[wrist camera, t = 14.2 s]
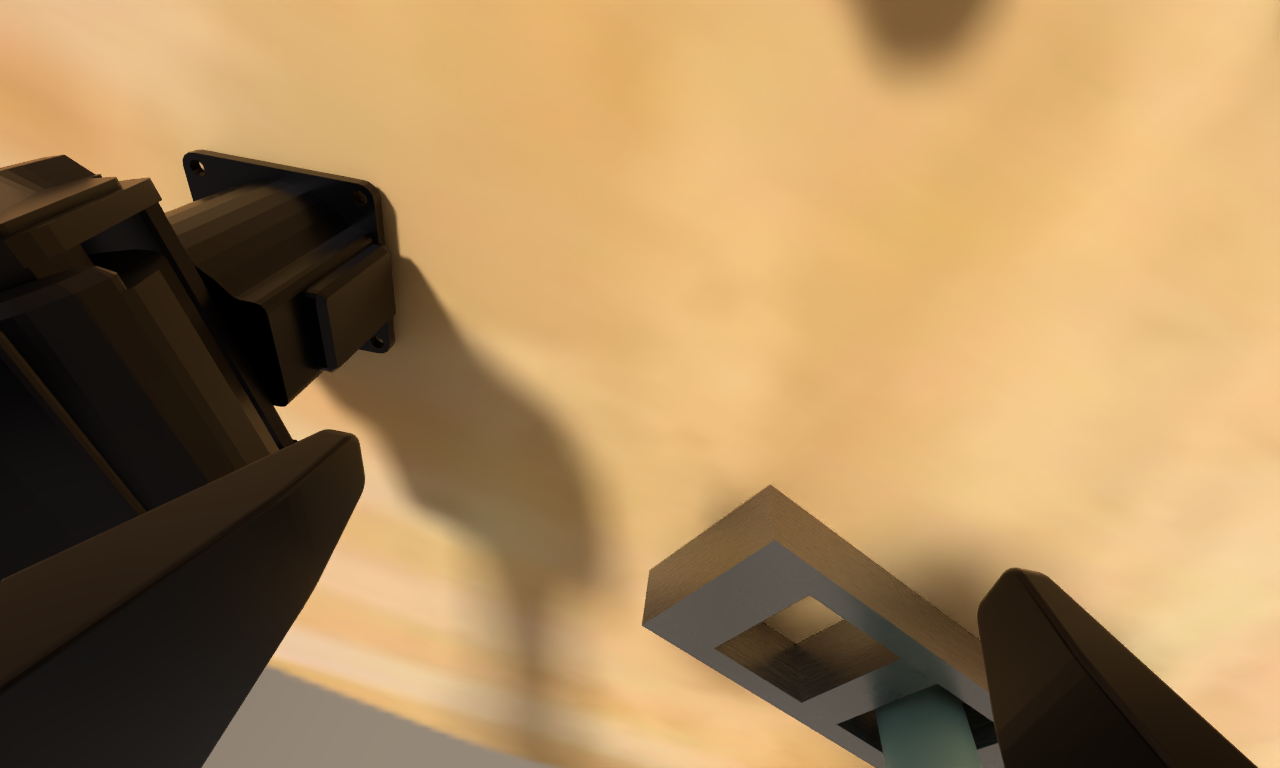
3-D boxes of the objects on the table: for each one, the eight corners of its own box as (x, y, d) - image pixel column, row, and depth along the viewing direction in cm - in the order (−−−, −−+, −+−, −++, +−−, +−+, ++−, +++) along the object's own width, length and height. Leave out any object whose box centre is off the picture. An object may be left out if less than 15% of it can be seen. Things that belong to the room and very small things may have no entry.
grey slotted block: (649, 570, 29) (641, 625, 26) (770, 484, 25) (774, 540, 22) (917, 742, 34) (932, 801, 31) (1052, 694, 30) (1081, 758, 27)
